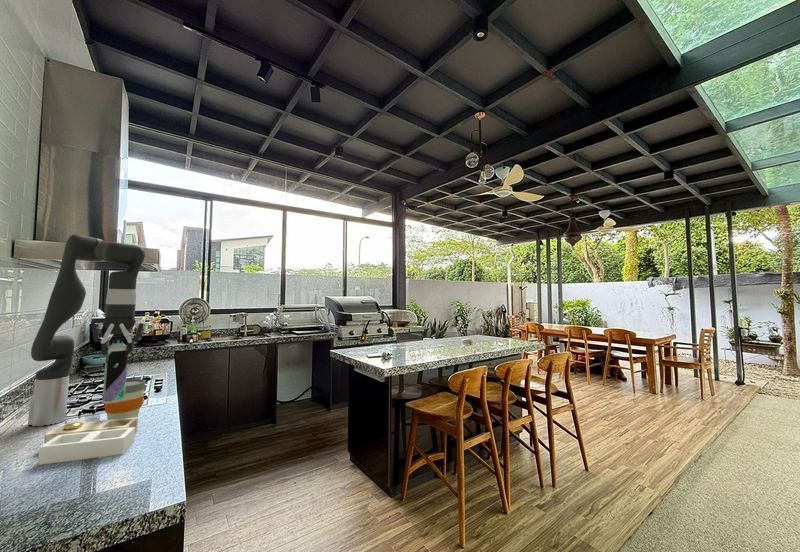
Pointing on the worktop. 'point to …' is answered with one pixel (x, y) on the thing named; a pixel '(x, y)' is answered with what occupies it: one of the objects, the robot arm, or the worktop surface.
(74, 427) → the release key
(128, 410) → the reusable coffee cup
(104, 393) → the spray can
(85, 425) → the socket block
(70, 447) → the frame
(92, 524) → the worktop surface
